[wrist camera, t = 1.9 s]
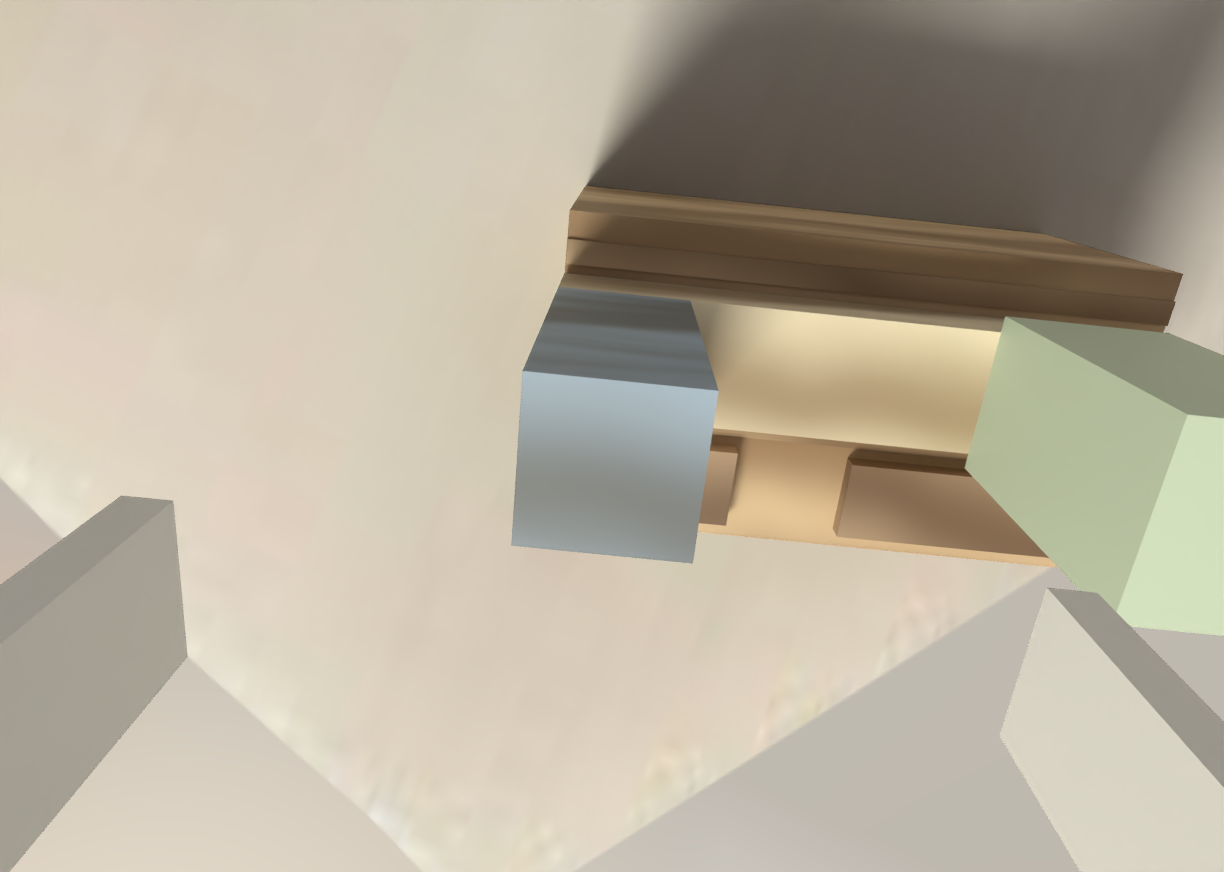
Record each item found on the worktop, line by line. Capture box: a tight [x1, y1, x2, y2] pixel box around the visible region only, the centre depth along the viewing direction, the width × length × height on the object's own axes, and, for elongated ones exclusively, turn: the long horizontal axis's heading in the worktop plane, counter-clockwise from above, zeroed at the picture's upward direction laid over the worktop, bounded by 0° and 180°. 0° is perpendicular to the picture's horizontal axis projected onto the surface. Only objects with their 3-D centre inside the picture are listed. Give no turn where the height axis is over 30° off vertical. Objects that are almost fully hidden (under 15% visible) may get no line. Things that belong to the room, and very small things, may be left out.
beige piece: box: [511, 273, 1005, 563], centre depth 23 cm, size 4×20×11 cm, turn 84°
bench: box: [565, 186, 1183, 567], centre depth 34 cm, size 11×20×11 cm, turn 84°
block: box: [965, 316, 1224, 636], centre depth 22 cm, size 5×5×9 cm
